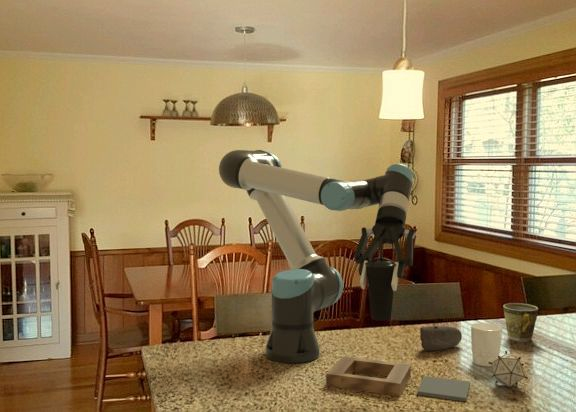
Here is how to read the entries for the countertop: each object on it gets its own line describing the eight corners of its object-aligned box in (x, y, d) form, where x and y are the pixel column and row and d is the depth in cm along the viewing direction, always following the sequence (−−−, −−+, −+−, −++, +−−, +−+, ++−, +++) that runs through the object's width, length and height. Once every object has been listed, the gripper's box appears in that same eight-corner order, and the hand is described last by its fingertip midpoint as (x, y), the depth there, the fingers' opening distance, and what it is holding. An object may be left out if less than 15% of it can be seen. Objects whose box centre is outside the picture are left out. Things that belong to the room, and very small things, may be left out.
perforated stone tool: (456, 343, 180) (456, 321, 180) (467, 348, 176) (467, 325, 175) (413, 349, 175) (413, 326, 174) (423, 354, 170) (424, 330, 169)
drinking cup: (372, 323, 142) (372, 239, 141) (360, 315, 150) (360, 235, 148) (402, 321, 144) (402, 238, 143) (389, 313, 152) (388, 234, 150)
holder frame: (326, 385, 146) (326, 373, 146) (342, 367, 159) (342, 356, 159) (400, 396, 140) (400, 383, 139) (410, 376, 153) (410, 364, 152)
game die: (502, 398, 148) (498, 358, 154) (535, 393, 143) (530, 353, 148) (484, 387, 143) (480, 347, 149) (518, 383, 138) (513, 341, 143)
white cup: (502, 368, 158) (503, 331, 158) (471, 366, 160) (472, 329, 159) (498, 359, 166) (499, 323, 165) (468, 357, 168) (469, 322, 167)
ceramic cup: (498, 333, 191) (499, 302, 190) (530, 334, 190) (531, 303, 190) (511, 346, 178) (512, 313, 177) (546, 346, 177) (547, 313, 177)
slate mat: (417, 394, 141) (417, 391, 141) (424, 378, 151) (424, 375, 151) (466, 401, 137) (466, 398, 137) (470, 384, 147) (470, 381, 147)
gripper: (432, 223, 156) (421, 298, 142) (357, 221, 163) (341, 292, 149) (429, 204, 151) (417, 280, 137) (352, 203, 158) (334, 275, 144)
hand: (377, 286), depth 143 cm, fingers closed on drinking cup, 7 cm apart
